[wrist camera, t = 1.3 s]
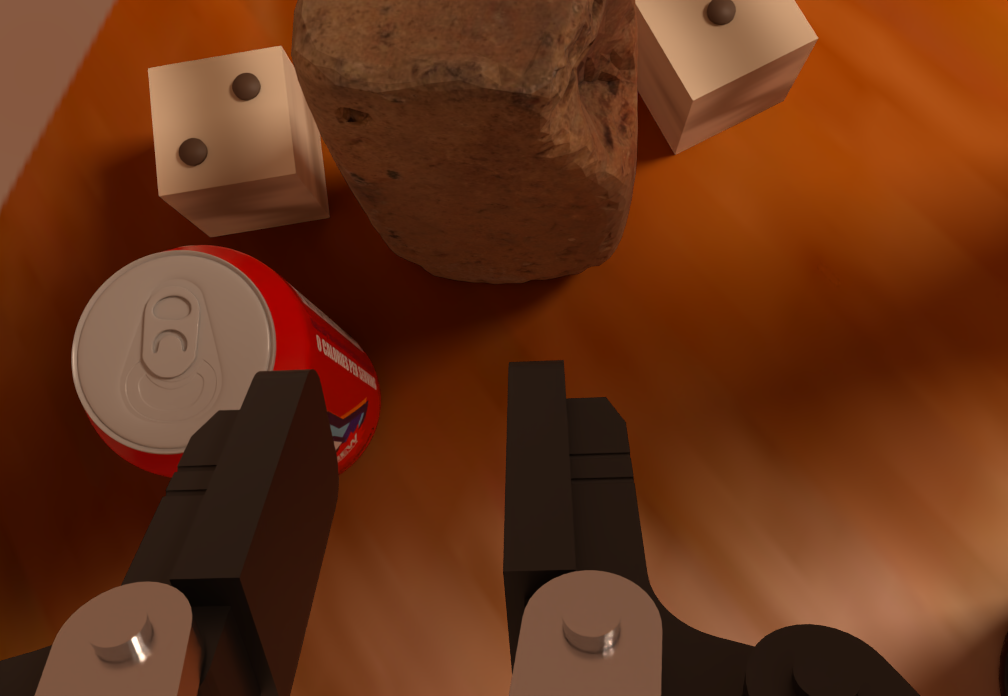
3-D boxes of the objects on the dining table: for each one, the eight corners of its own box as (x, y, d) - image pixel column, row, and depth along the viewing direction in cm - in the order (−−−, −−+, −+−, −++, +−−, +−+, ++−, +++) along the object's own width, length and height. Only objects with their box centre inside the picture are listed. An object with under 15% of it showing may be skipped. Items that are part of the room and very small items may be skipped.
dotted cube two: (316, 105, 46) (279, 43, 40) (330, 218, 44) (294, 171, 38) (200, 125, 46) (146, 66, 40) (211, 237, 45) (156, 194, 39)
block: (388, 279, 44) (252, 87, 24) (410, 133, 45) (297, -162, 25) (613, 302, 43) (662, 124, 23) (628, 153, 44) (687, -135, 24)
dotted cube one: (722, 2, 45) (748, -77, 39) (783, 101, 44) (819, 35, 38) (616, 55, 45) (626, -16, 39) (674, 155, 44) (693, 98, 38)
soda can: (386, 322, 43) (299, 224, 29) (384, 488, 42) (291, 475, 27) (225, 326, 44) (58, 230, 29) (217, 490, 42) (37, 478, 28)
